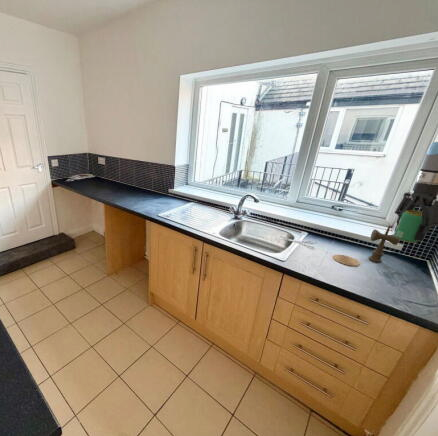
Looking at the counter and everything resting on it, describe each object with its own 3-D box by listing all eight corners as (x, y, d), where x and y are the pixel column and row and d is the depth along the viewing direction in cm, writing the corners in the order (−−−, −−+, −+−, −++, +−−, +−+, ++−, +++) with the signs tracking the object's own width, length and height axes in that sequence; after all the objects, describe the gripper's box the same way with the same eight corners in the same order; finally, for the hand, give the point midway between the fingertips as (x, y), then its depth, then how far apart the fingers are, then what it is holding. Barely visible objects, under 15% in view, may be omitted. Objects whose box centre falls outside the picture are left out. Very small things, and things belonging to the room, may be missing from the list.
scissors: (317, 249, 134) (277, 240, 144) (317, 250, 135) (277, 241, 144) (317, 241, 143) (279, 233, 152) (316, 243, 143) (279, 234, 153)
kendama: (361, 255, 130) (375, 221, 122) (385, 260, 125) (401, 225, 118) (363, 260, 125) (378, 225, 118) (388, 266, 121) (405, 230, 113)
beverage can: (399, 233, 109) (409, 208, 104) (423, 241, 102) (436, 214, 98) (389, 236, 106) (399, 211, 101) (413, 244, 99) (426, 217, 95)
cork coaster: (349, 255, 130) (349, 254, 130) (365, 266, 120) (365, 265, 120) (327, 254, 131) (328, 254, 131) (341, 265, 120) (342, 264, 120)
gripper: (395, 177, 106) (378, 225, 113) (448, 188, 86) (423, 246, 94) (413, 177, 105) (394, 226, 113) (471, 189, 85) (444, 246, 93)
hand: (407, 235), depth 103 cm, fingers closed on beverage can, 8 cm apart
